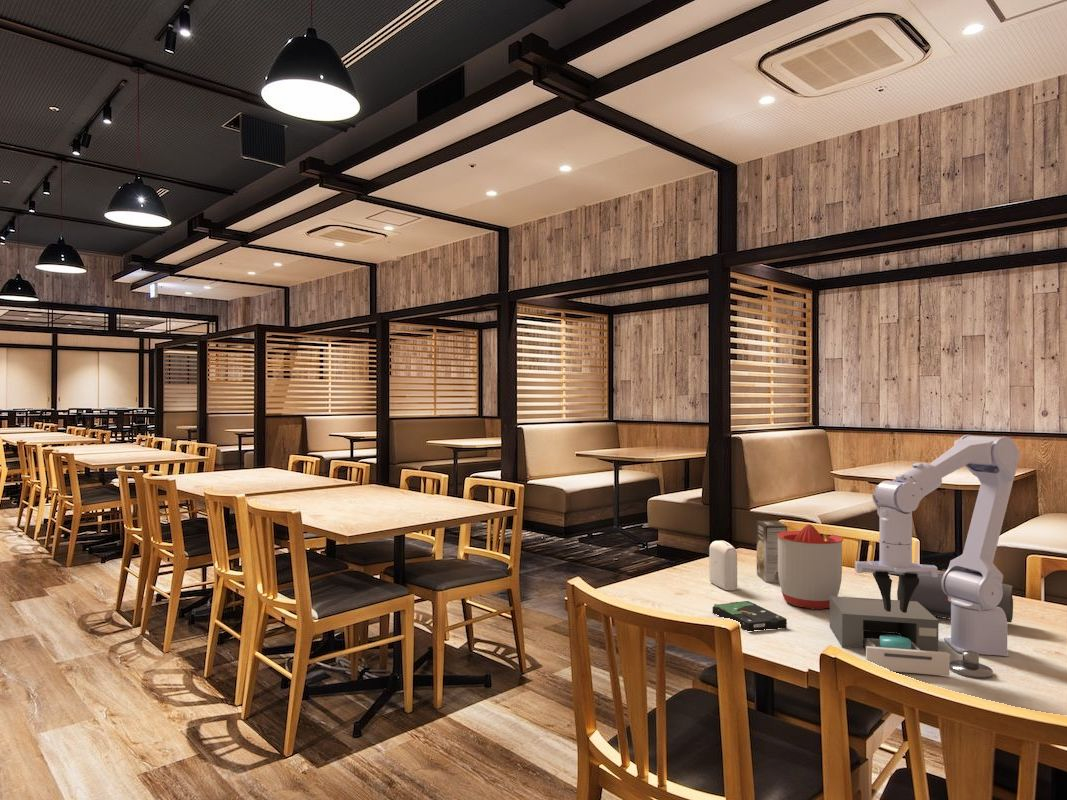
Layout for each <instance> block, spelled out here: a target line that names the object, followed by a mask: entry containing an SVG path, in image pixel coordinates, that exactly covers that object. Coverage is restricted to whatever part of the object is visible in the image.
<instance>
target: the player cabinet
mask: <svg viewBox="0 0 1067 800" xmlns="http://www.w3.org/2000/svg"><path fill="white" fill-rule="evenodd" d="M939 620H940V619H938V617H937V618H936V616H933V615H932V614H931V613H930V612H929V611H928V610H926V609H925V608H924V607H923V606H922V605H921V604H920V603H918V602H917V601H909V604H908V608H907V613H903V612H902V611H901V610H900V600H898V599H891V612H887V611H886V610H885V609H884V603H883V599H882V598H870V597H869V598H865V597H855V596H854V597H851V596H830V608H829V629H830V630H831V631H832V633H833V635H834V637H835V638H836V640H837V642H838V643H839V645H840V646H841V648H844V649H854V650H855V649H858V650H864V645H863V638H864V632H874V633H875V632H877V633H889V634H898V635H899V636H902V637H905V638H908V639H910V640H911V641H912V642H913V643H914V644H915V645H916V646H917V647H918V648H919V649H920V650H923V651H936V652H939Z"/></svg>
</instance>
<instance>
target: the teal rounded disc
mask: <svg viewBox="0 0 1067 800" xmlns="http://www.w3.org/2000/svg"><path fill="white" fill-rule="evenodd" d="M879 639H880V647H884V648H897V649H910V650H911V640H910V639H908V638H905V637H902V636H901V635H899V634H898V635H897V634H882V635H879Z"/></svg>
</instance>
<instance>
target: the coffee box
mask: <svg viewBox="0 0 1067 800" xmlns="http://www.w3.org/2000/svg"><path fill="white" fill-rule="evenodd" d="M785 531H788V526H787V525H786V524H785V523H782V522H781V521H779V520H756V575H757V576H758V577H759V578H760V579H761V578H762V581H764V582H765V583H780V582H779V576H778V536H777V534H778V533H780V532H785Z"/></svg>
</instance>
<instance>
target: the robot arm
mask: <svg viewBox="0 0 1067 800" xmlns="http://www.w3.org/2000/svg"><path fill="white" fill-rule="evenodd" d="M1020 456H1021V452H1020V449H1019V448H1018V446H1017V444H1016V442H1015V441H1014V439H1012V438H1011V437H1009V436H984V435H983V436H981V435H972V434H965V435H962V436H961V437H959V438H958V439H955V440H954V441H953V446H952V447H950V448H949V449H948V450H946V451H945V452H944V453H943V454H940V456H938V457H937V458H936V459H934V460H933V461H931V463H928V462H915V463H913V464H912V468H910V469H908V470H907V471H905V472H903V473H902V474H901V473H899V474H898V475H896V476H895V478H893V480H883V481H881V482H880V483H879V484H877V486H876V487H875V489H874V493H872V495H871V497H872V501H873V503H874V505H875V506H876V510H877V511H876V514H877V516H878V517H879V555H878V556H879V559H878V560H875V561H874V560H871V561H870V560H867V561H866V560H865V561H862V560H861V561H858V560H855V561H854V571H855V573H857V574H864V573H869V574H872V576H873V578H874V580H875V582H876V583H877V584H876V585H877V587H878V589H879V591H880V595H881V599H883V603H884V609H885V610H886V611H887V612H891V600H892V599H891V594H892V593H891V592H892V585H893V584H892V582H893V579H891V576H890V575H898V581H899V582H900V610H901V611H902V612H903V613H907V608H908V604H909V601H910V598H911V596H912V594H913V592H914V590H915V588H916V587H917V585H918V584H919V578H918V575H919V576H931V577H937V574H938V567H937V566H936V565H934V564H920V563H916V562H915V563H913V512H915V511H916V510H917V508H918V507H919V504H920V502H921V500H923V498H924V497H925V496H928V495H929V494H930V493H932V492H933V491H935V490H937V489H938V488H940V487H941V485H942V482H943V478H945V477H946V476H948V475H950V474H952V473H954V472H956V471H957V470H960V469H962V468H963V467H965V468H966V469H967V470H968V471H969V472H970V473H971V474H972V475H973V476H974V477H976V478H977V479H978V481H979V483H980V486H979V489H978V493H977V497H976V501H975V506H974V508H973V512H972V516H971V519H970V520H971V521H970V524H969V529H968V532H967V535H966V536H967V537H966V540H965V543H964V547H963V548H964V549H963V551H962V554H961V555H959V556H957V557H955V558H953V559H951V560H949V561H950V562H949V565H948V567H947V570H945V572H944V573H943V574H944V575H943V577H942V582H941V585H942V590H943V592H944V593H945V594H946V595H947V596H948V601H950V602H951V619H950V637H943V640H944V642H945V643H946V644H947V645H948V646H949V647H951V648H952V649H953V650H954V651H955V652H957V653H961V654H963V651H964V650H968V651H974V652H977V653H978V654H979V655H990V656H999V657H1000V656H1001V657H1009V656H1010V654H1009V652H1008V622H1007V618H1006V615H1005V612H1004V611H1003V609H1002V608H1000V607H996V606H997V605H998V604H999V603H1000V601H1001V599H1002V595H1003V590H1002V583H1003V579H1004V574H1003V573H1002V572H1001V571H1000V570H999V569H998V568H997V566H996V565H995V564H994V559H995V555H996V551H997V548H998V544H999V539H1000V536H1001V532H1002V527H1003V522H1004V520H1005V516H1006V512H1007V507H1008V503H1009V500H1010V495H1011V492H1012V488H1013V483H1014V479H1015V476H1016V472H1017V469H1018V465H1019V460H1020ZM973 572H975V573H973ZM978 573H979V574H978Z"/></svg>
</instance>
